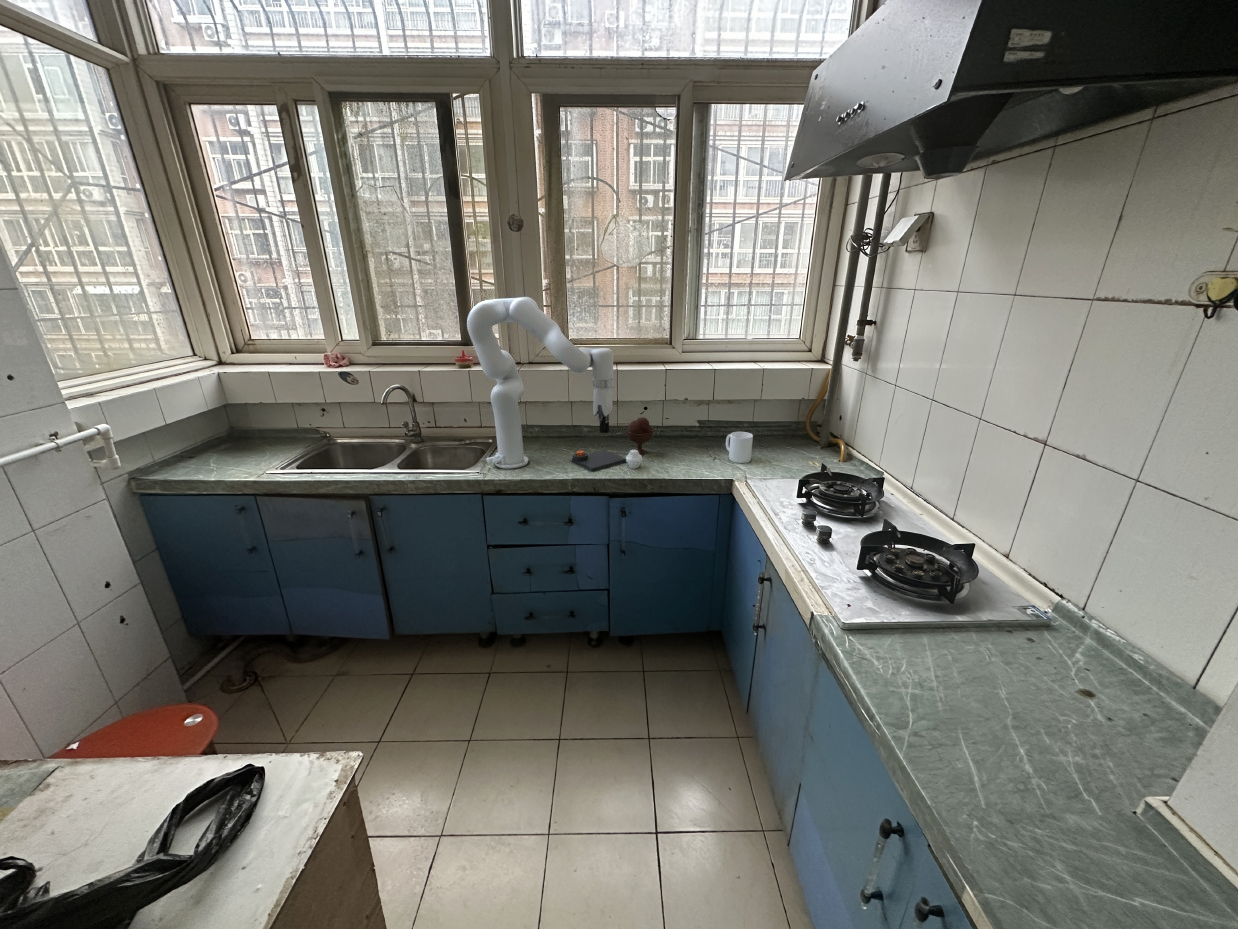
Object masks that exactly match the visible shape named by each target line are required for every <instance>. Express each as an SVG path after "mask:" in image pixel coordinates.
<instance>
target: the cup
mask: <svg viewBox="0 0 1238 929" xmlns="http://www.w3.org/2000/svg"><path fill="white" fill-rule="evenodd" d="M753 438H754V435H753V434H752V433H750V432H746V431H733V432H730V433H729V434H727V436H726V438H725V448H726V450H727V451H728V460H729V461H730V462H731V463H732V462H733V463H736V464H747V463H749V462H750V461H751V460H752V449H753Z"/></svg>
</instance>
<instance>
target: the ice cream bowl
mask: <svg viewBox="0 0 1238 929" xmlns="http://www.w3.org/2000/svg"><path fill="white" fill-rule="evenodd" d="M653 435H654V428H652V426H651V425H650V421H649V419H647V418H646V417H644V416H642V417H641V416H640V417H638V418H637V419H636V420H633V421H631V422H630V423H629V424H628V427H627V428H626V436H627V438H628V439H629V440H630V441H631V442H633V443H634V444H637V448H636V449H635V450H637V451H638V452H639V454H640V455H641V456H642V455H645V454H647V450H645V449H643V444H646V443H647V442H649V441H650V440H651V439H652V437H653Z"/></svg>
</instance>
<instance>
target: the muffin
mask: <svg viewBox="0 0 1238 929" xmlns="http://www.w3.org/2000/svg"><path fill="white" fill-rule="evenodd" d="M625 459H626V463H627V466H628V467H629V468H630V469H638V468H639V467H640V465H641V463H642V460H643V456H642V455H640V454H639V452H638V451H637V450H636V449H631V450H629V452H628V454H627V455H626V456H625Z"/></svg>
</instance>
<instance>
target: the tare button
mask: <svg viewBox="0 0 1238 929" xmlns="http://www.w3.org/2000/svg"><path fill="white" fill-rule="evenodd" d="M576 453H577V456H584V450H577V451H576Z"/></svg>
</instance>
